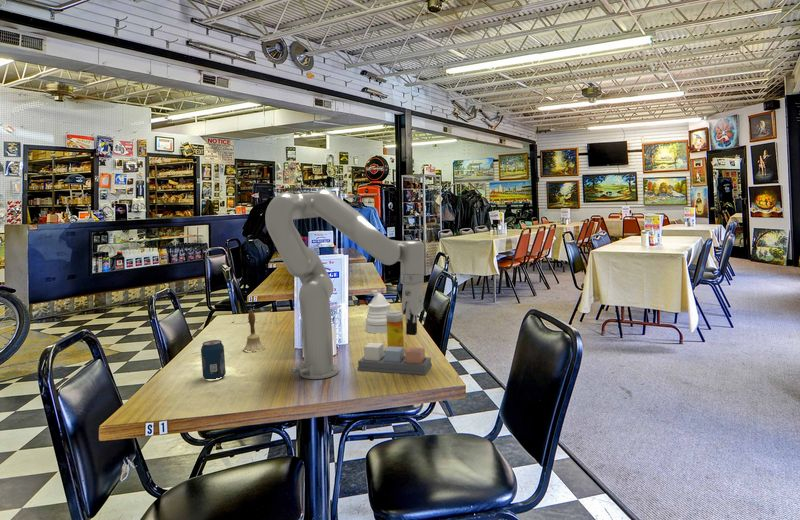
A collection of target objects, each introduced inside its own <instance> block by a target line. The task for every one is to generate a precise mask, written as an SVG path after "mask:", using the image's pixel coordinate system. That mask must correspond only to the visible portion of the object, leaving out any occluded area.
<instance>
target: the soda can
mask: <svg viewBox="0 0 800 520" xmlns="http://www.w3.org/2000/svg"><path fill="white" fill-rule="evenodd" d="M224 347H225V346H224V344H223V343H222V340H219V339H212V340H207V341H203V342H202V346H201V347H200V356H201V357H200V358H201V368H202V377H203V379H204V378H205V379H216V378H220V377H223V376H224V375H225V376H226V374H227V373H226V372H227V370H226V359H225V348H224ZM225 376H224V377H225ZM205 379H204V380H205Z"/></svg>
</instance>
